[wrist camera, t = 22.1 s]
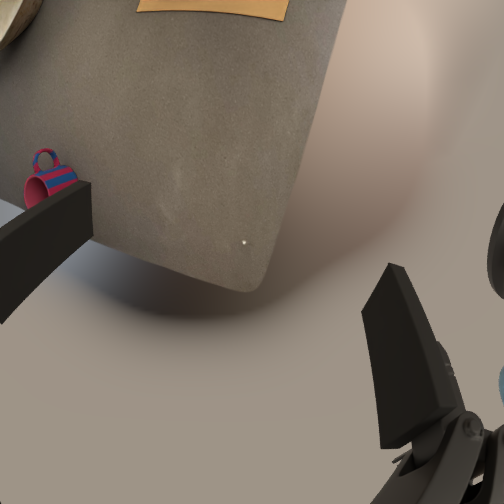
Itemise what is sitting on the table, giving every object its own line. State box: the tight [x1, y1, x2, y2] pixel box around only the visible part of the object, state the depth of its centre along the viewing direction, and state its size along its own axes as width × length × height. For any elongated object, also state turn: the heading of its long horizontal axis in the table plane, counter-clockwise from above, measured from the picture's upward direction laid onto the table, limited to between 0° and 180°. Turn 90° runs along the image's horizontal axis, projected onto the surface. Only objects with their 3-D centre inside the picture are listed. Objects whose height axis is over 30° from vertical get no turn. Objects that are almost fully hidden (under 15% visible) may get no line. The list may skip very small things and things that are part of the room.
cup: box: [24, 148, 78, 209], centre depth 33 cm, size 7×10×7 cm
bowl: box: [0, 0, 43, 51], centre depth 18 cm, size 24×24×10 cm
